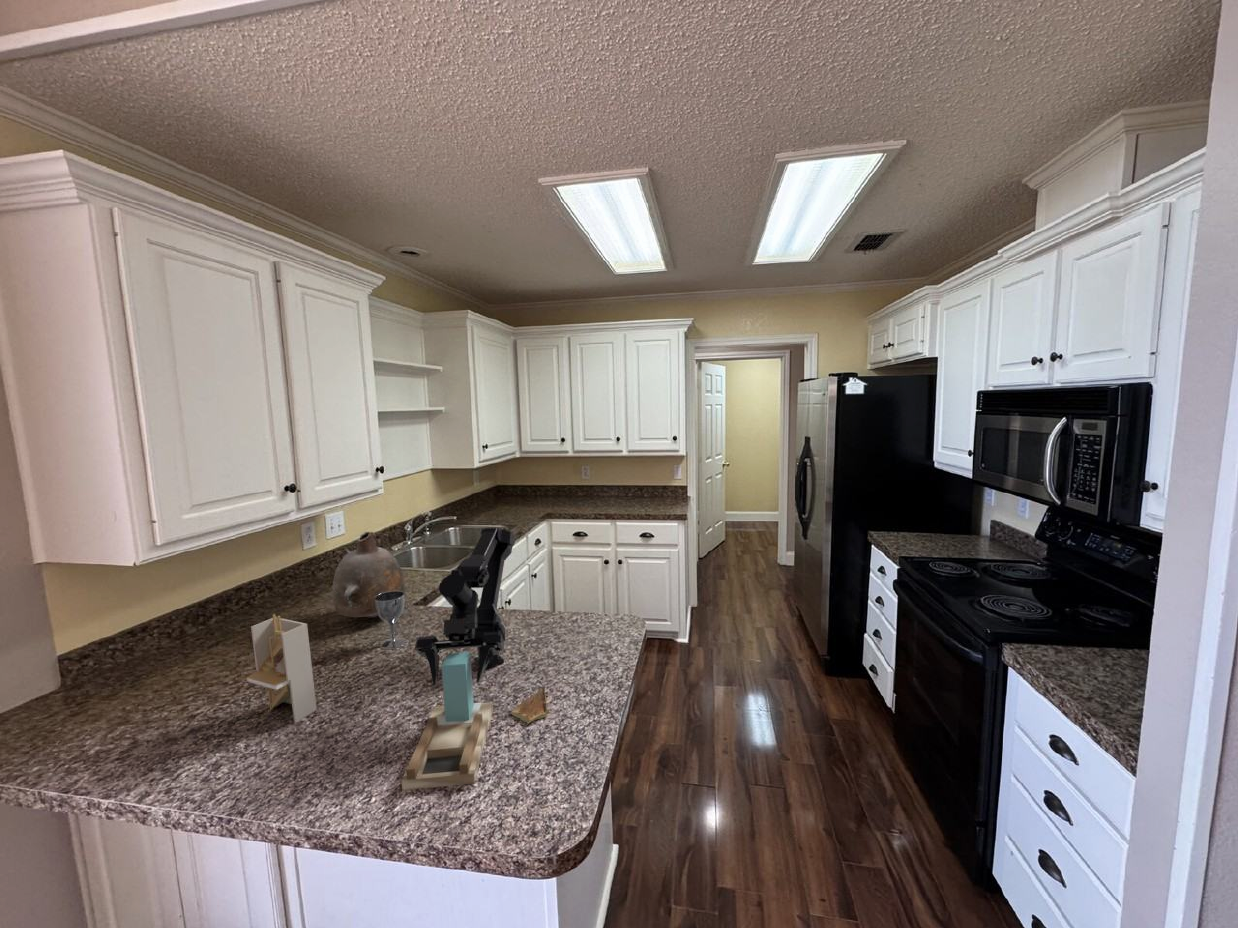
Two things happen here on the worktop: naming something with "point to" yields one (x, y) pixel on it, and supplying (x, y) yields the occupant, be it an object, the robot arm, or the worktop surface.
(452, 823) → the worktop surface
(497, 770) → the worktop surface
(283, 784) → the worktop surface
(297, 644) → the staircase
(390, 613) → the wine glass
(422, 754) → the beige tray
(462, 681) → the tall block
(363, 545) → the jug
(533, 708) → the shard
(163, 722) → the worktop surface
